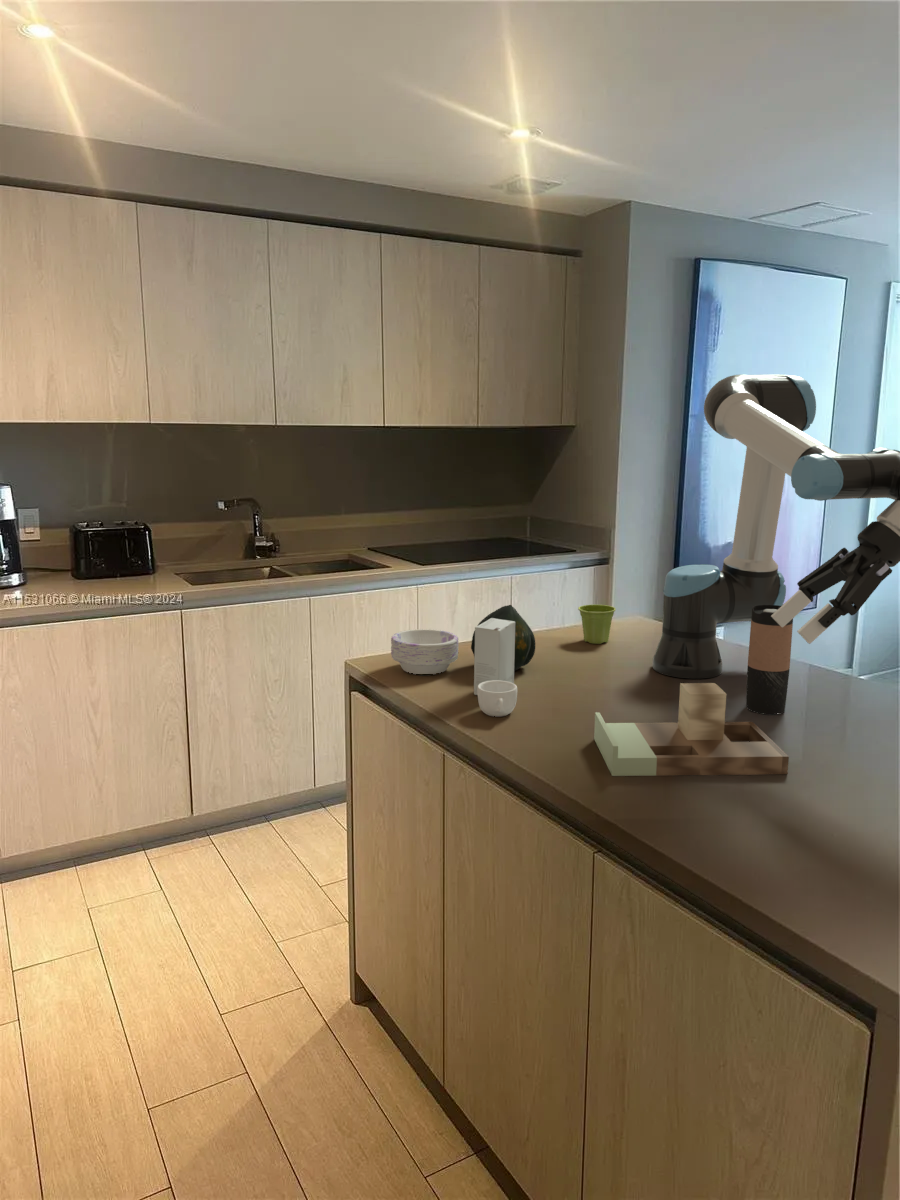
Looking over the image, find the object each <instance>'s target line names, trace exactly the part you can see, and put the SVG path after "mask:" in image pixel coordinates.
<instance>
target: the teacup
mask: <svg viewBox="0 0 900 1200" xmlns="http://www.w3.org/2000/svg"><path fill="white" fill-rule="evenodd" d="M477 693H478V695H477V701H478V706H479V709H480V710H481V711H482V712H483V713H484V714H486V715H487V716H490V717H494V716H495V717H496V718H497V717H499V718H500V717H505V716H508V715H509V714H511V713H512V712H513V711H514V709H515V708H516V704H517V700H518V686H517V684H515V682H514V683H511V682H508V681H501V680H492V681H485V682H482V683H480V684H479V685H478V687H477Z"/></svg>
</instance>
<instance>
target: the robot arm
mask: <svg viewBox="0 0 900 1200" xmlns="http://www.w3.org/2000/svg"><path fill="white" fill-rule="evenodd" d="M703 403H704V404H703V414H704V418H705V421H706V422H707V424H708V425H709V427H710V429H712V430H713V431H714V432H716V433H717V434H718V435H720V436H721V437H723V438H724V439H729V440H736V441H738V442H740V443H741V444H742V445H744V446H745V447H746V449H745V450H746V451H745V456H744V464H743V465H744V466H743V471H742V478H741V479H742V480H741V486H740V493H739V499H738V500H739V501H738V507H737V515H736V521H735V522H736V523H735V528H734V530H735V531H734V535H733V543H732V549H731V550H732V551H731V553H730V554H729V555H728V556H726V557H725V558H723V563H722V569H721V570H720V568H719V567H718V566H716V565H714V564H701V563H700V564H689V565H681V566H678V567H675V568H673V569H671V570H669V571H668V572H667V573H666V575H665V579H664V587H663V589H662V591H663V592H662V594H663V606H662V607H663V608H662V609H663V610H662V625H661V628H662V629H661V630H662V632H661V636H660V639H659V642H658V644H657V648H656V650H655V653H654V655H653V658H652V669H653V670H654V671H655V672H658V673H659V674H662V675H664V676H667V677H668V676H670V677H674V678H681V679H690V680H691V679H692V680H693V679H697V680H698V679H699V680H701V679H710V678H714V677H718V676H719V675H721V674H723V673H722V672H723V660H722V657H721V652H720V649H719V646H718V642H717V624H723V623H736V622H737V623H738V622H739V623H740V622H751V616H752V607H754V606H757V605H778V606H781V607H780V608H779V609H778V610H777V611H776V612H775V613H773V614H772V615H771V617H772V618H773V619H774V620H775V621H776V622H777V623H778V624H779V625H780V626H781V627H782V628H783V627H784V626H785V625H786V624H787V623H788V622H789V621H790V620H792V619H793V620H794V618H795V617H796V616H797V615H798V614H799V613H801V611H803V610H804V609H805V608H806V607H807V606H808V605H809V604H810V603H813V602H814V597H816V596H817V595H819V594H821V593H822V592H824V591H826V590H828V589H831V587H834V586H835V585H837V584H839V583H841V582H844V584H843V585H842V587H841V588H840V589H839V592H838V593H837V595H836V597H835V598H832V599H829V600H828V602H829V603H826V604H825V605H824V606H823V607H822V608H821V609H820V610H819V611H817V612H816V613H815V614H814V615H813V616H812V617H811V618H810V619H809V620H808V621H806V623H805V624H803V625H802V626H801V627H800V628H798V630H797V631H796V632H797V633H798V634H799V635H800V636H801V638H802V639H804V640H805V641H806V642H807V644H809V645H810V644H812V643H813V642H814V641H816V639H817V638H819V636H820V635H822V634H823V633H824V632H825V631H826V630H827V629H828V628H830V627H831V625H833V624H834V623H835V622H836V621H837V620H838V619H839V618H840V617H845V616H846V615H850V616H854V615H856V614H857V613H858V611H859V610H860V609H861V608H862V607H863V605H864V604H866V603H865V602H867V600H868V599H869V598H870V597H871V595H872V594H873V593H874V592H875V591H876V590H877V588H879V585H880V584H881V583H882V582H883V581H884V580H886V578H887V577H888V576H890V575H891V574H892V573H893V569H892V567H895V566H897V565H898V564H899V563H900V450H898V449H890V448H887V447H876V448H874V449H873V450H870V451H868V452H866V453H839V452H837V451H836V450H835V449H832V448H830V447H829V446H827V445H825V444H824V443H822V442H820V441H819V440H817V439H816V438H814V437H812V436H811V435H809V434H807V433H806V432H804V431H806V430H808V429H810V427H811V425H812V424H813V423H814V420H815V417H816V413H817V400H816V395H815V391H814V390H813V388H812V387H811V384H810V383H809V382H808V380H806V379H805V378H803V377H801V376H798V375H791V374H785V373H784V374H733V375H729V376H726V377H724V378H723V379H721V380H719V381H717V382H716V383H715V384H714V385H713V386H712V387H711V388H710V389H709V391H708V393H707V395H706V397H705V399H704V402H703ZM786 475H788V476H789V477H790V480H791V486H792V488H793V489H794V492H795V494H796V495H797V497H799V498H801V499H804V500H814V501H818V502H819V501H820V502H821V501H823V502H824V501H828V500H845V499H846V500H851V499H884V498H885V499H891V500H892V502H891V503H890V504H889V505H888V506H887V507H886V508H885V509H884V510H883V511H881V512H880V513H879V515H877V517H876V521H871V522H870V523H869V524H868V525H867V526H866V527H865V528H864V529H862V531H860V532H859V533H858V534H857V541H858V543H859V544H858V547H856V548H854V549H852V550H851V551H849V550H848V549H847V548H846V547H842V548H841V549H840V550H839V551H838V552H836V553H835V555H833V556H832V557H831V558H829V559H828V560H827V561H825V562H824V563H822V564H821V565H819V567H818V566H817V568H816V569H814V570H813V571H811V572H810V573H809V574H807V575H806V576H804V577H803V578H801V579H800V580H799V581H797V584H796V585H797V586H798V590H797V591H796V592H795V593H794V594H793V595H792V596H791V597H790V598H788V599H787V601H785V600H786V595H787V585H786V584H785V581H786V580H785V578H784V576H783V574H782V573H781V572H780V570H779V565H778V563H777V562H776V560H775V559H774V558H773V555H774V548H775V543H776V535H777V530H778V523H779V516H780V511H781V503H782V497H783V491H784V487H785V486H784V484H785V478H786Z"/></svg>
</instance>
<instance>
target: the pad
mask: <svg viewBox="0 0 900 1200" xmlns="http://www.w3.org/2000/svg"><path fill="white" fill-rule="evenodd" d="M635 723H636V722H605V720H604V718H603V716H602V715H601V712H598V711H596V712H594V731H593V732H594V735H593V736H594V737H593V740H594V741H595V744H596V746H597V748H598V749H599V752H600V754H601V756H602V758H603V760H604V762H605V764H606V766H607V769H608V771H609V773H610V774H611V776H612V777H625V776H626V777H628V776H629V777H634V776H637V777H638V776H641V777H642V776H646V777H648V776H650V777H651V776H656V777H657V775H656V766H657V757H656V756H655V754H654V752H653V751H652V749H651V748H650V746H649V745H648V743H647V742H646V740H645V739H644V737H643V736H642V734H641V732H640V731H639V729H638V728H637V726H636V725H635Z"/></svg>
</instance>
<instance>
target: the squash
mask: <svg viewBox="0 0 900 1200" xmlns="http://www.w3.org/2000/svg"><path fill="white" fill-rule="evenodd" d="M490 618H495V619H501V620H509V621H515V659H514V672H515V671H518V670H520V669H521V667H524V666H526V665H528V664H529V663H530V662H531V661H532V660H533V658H534V656H535V652H536V637H535V634H534V633H533V630H532V629H531V627H530V626H529V625H528V623H527V622H526V620H525V619H524V618H523V617H522V616H521V614H520V613H519V612H518V610H516V608H515V607H514V606H513V604H512V605H511V604H508V605H503V606H502V607H499V608H498V609H496V610H493V611H492V612H490V613H489V614H488V615H487V616H485V617H483V619H481V621H479V623H478V624H477V625H476V626H478V625H480V624H482V623H484V622H485V621H487V620H489V619H490ZM470 649H471V651H472V654H473V657H474V656H475V630H474V631H473V633H472V638H471V644H470Z"/></svg>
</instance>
